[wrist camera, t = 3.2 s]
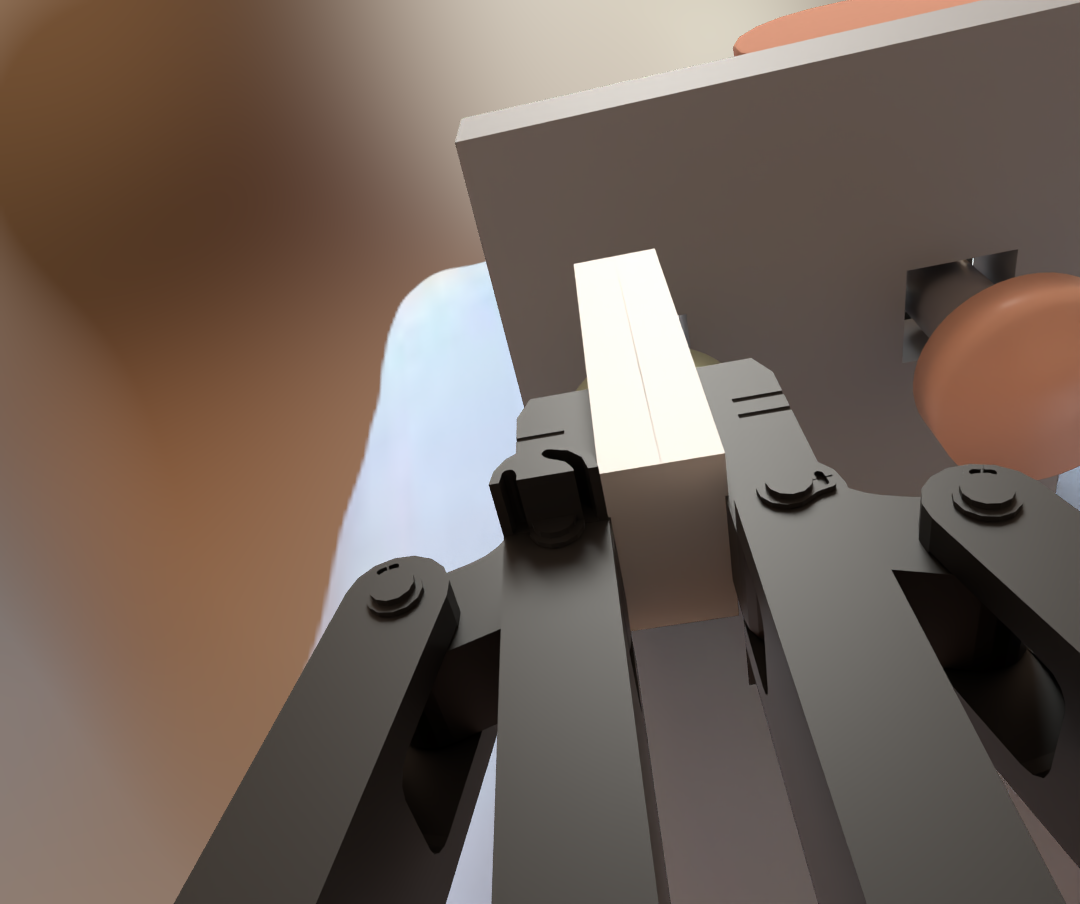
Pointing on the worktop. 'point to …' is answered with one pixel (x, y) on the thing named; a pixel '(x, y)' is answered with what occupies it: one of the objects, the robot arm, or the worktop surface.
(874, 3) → the coffee jar
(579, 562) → the robot arm
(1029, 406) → the terracotta button
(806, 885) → the worktop surface
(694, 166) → the panel
